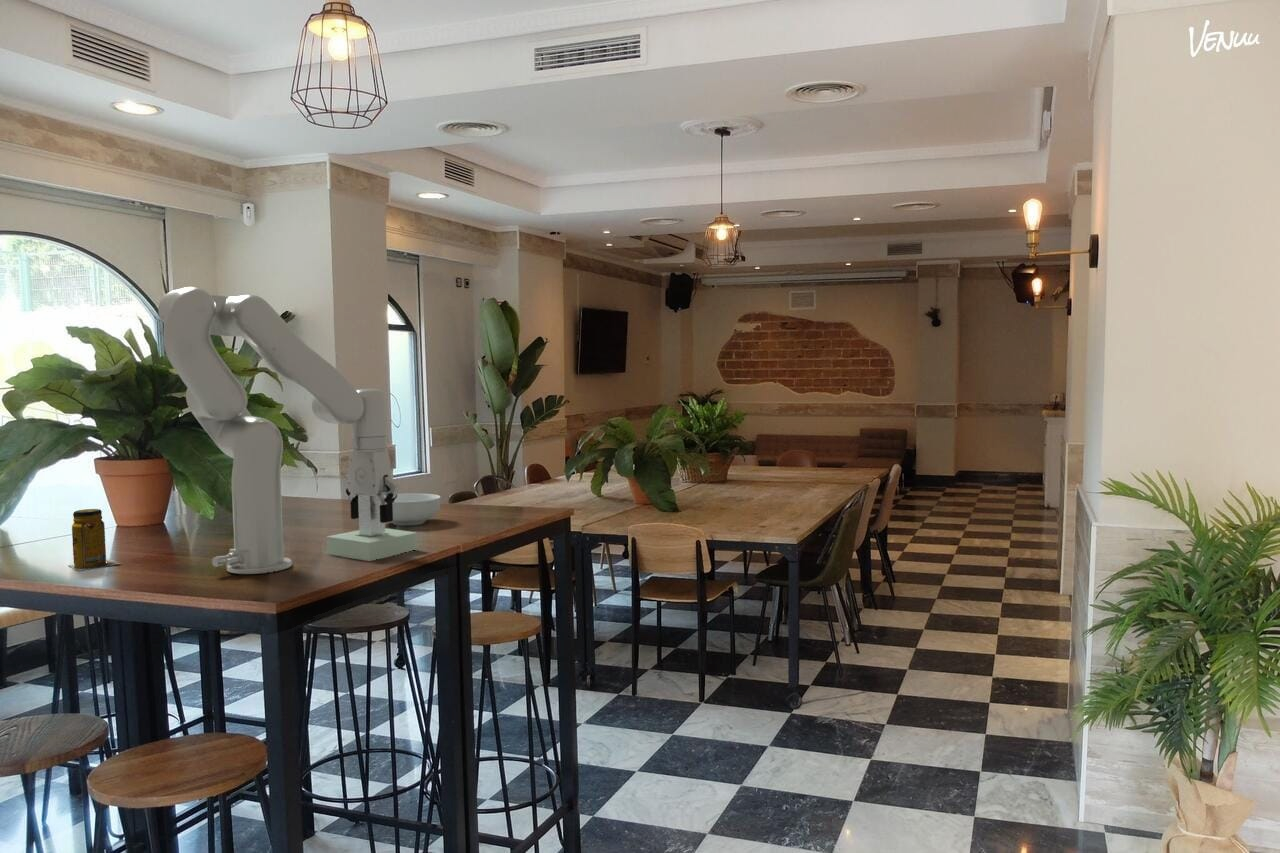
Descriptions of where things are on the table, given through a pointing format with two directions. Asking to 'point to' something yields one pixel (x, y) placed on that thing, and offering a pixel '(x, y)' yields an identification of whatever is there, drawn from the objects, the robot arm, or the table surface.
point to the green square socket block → (371, 544)
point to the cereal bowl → (414, 508)
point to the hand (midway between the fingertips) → (371, 519)
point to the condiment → (89, 540)
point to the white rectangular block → (370, 516)
